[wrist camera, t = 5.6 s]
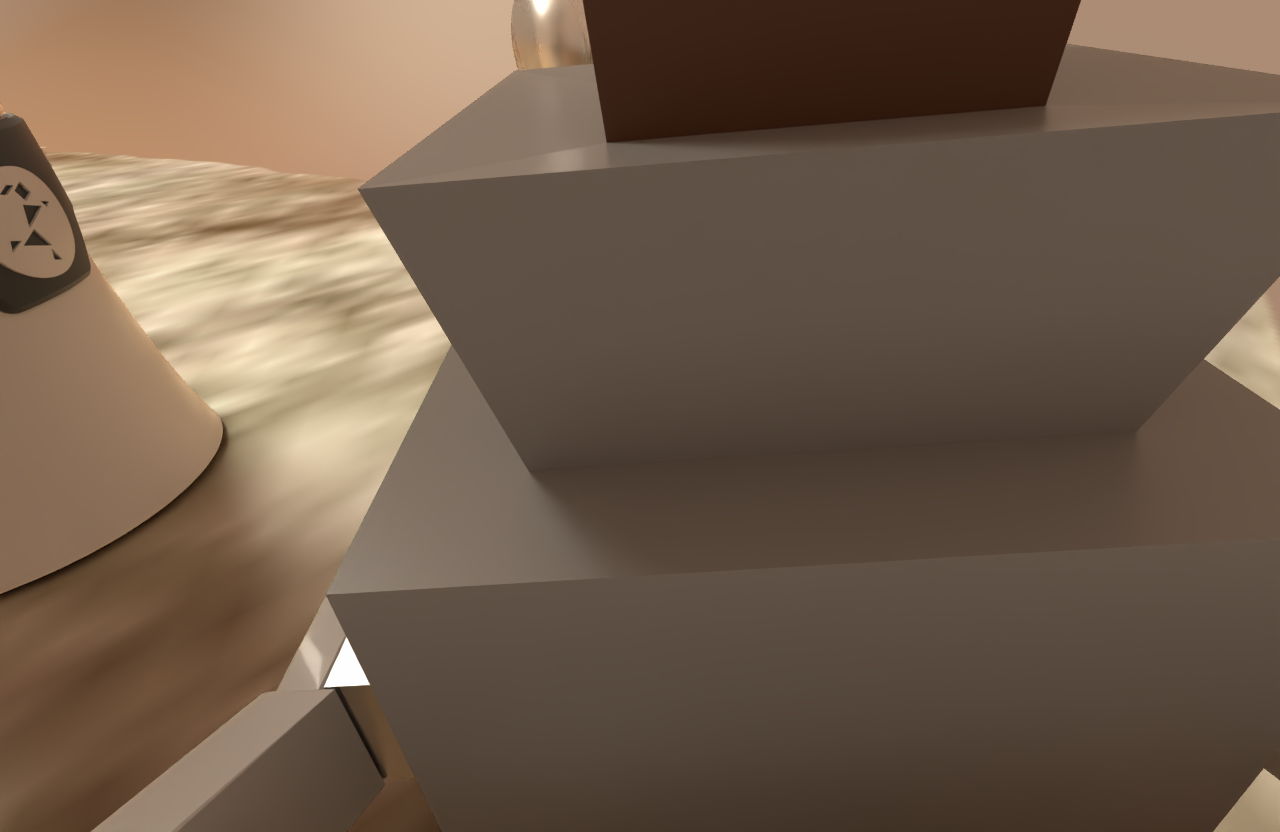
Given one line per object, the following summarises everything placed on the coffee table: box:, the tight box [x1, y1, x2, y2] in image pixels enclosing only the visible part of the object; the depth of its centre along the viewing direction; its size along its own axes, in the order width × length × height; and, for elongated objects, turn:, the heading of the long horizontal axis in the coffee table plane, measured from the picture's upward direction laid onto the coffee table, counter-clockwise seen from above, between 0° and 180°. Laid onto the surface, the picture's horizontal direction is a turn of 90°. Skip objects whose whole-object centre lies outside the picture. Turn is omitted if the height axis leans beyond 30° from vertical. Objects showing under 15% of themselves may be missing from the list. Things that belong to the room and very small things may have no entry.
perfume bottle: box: [326, 0, 1280, 832], centre depth 9 cm, size 7×7×18 cm
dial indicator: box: [511, 0, 593, 70], centre depth 31 cm, size 5×5×17 cm
